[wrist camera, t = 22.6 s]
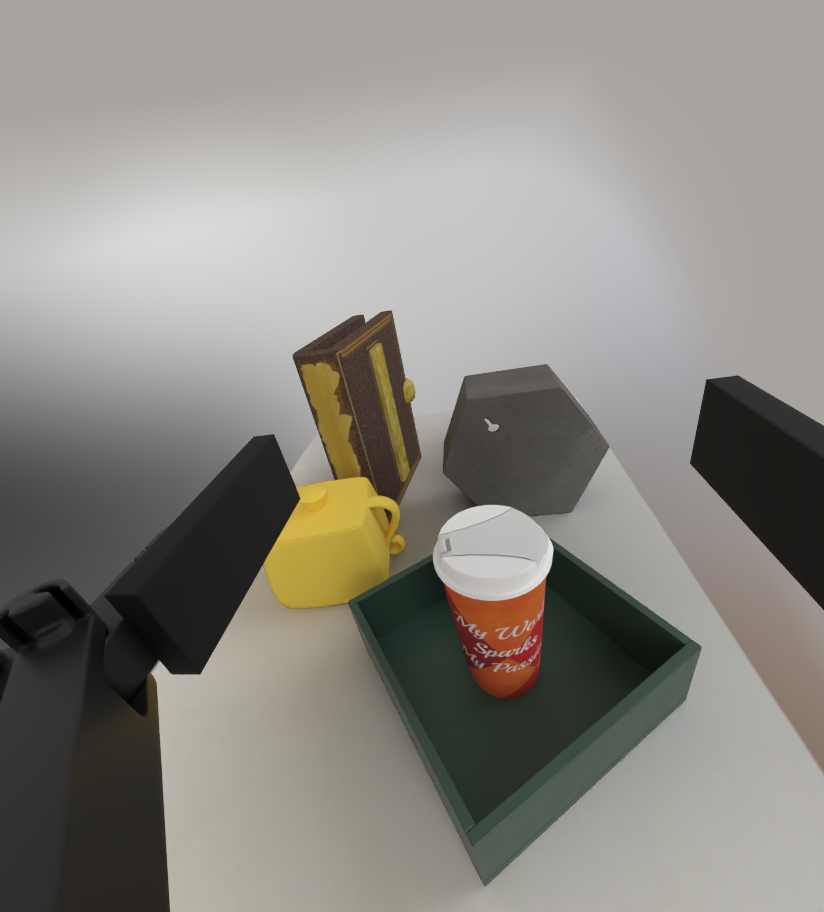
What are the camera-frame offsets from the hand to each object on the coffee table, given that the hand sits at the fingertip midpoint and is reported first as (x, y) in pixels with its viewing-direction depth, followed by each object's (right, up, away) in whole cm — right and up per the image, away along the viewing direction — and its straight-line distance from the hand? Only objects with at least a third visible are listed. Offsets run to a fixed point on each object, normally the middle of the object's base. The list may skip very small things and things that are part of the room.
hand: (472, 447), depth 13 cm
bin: (+6, -19, +22) cm, 30 cm away
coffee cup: (+6, -19, +22) cm, 30 cm away
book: (-5, -5, +51) cm, 52 cm away
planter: (+13, -6, +42) cm, 45 cm away
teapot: (-12, -15, +37) cm, 42 cm away
